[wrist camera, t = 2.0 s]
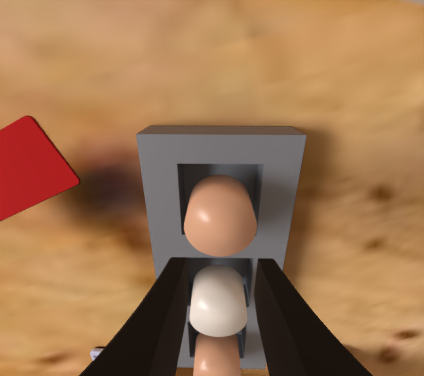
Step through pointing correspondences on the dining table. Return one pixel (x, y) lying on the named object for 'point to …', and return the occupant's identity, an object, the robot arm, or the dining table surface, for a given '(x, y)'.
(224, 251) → the light brown oval
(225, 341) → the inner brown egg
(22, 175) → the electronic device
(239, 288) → the white egg
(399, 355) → the dining table surface
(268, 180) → the grey egg tray
